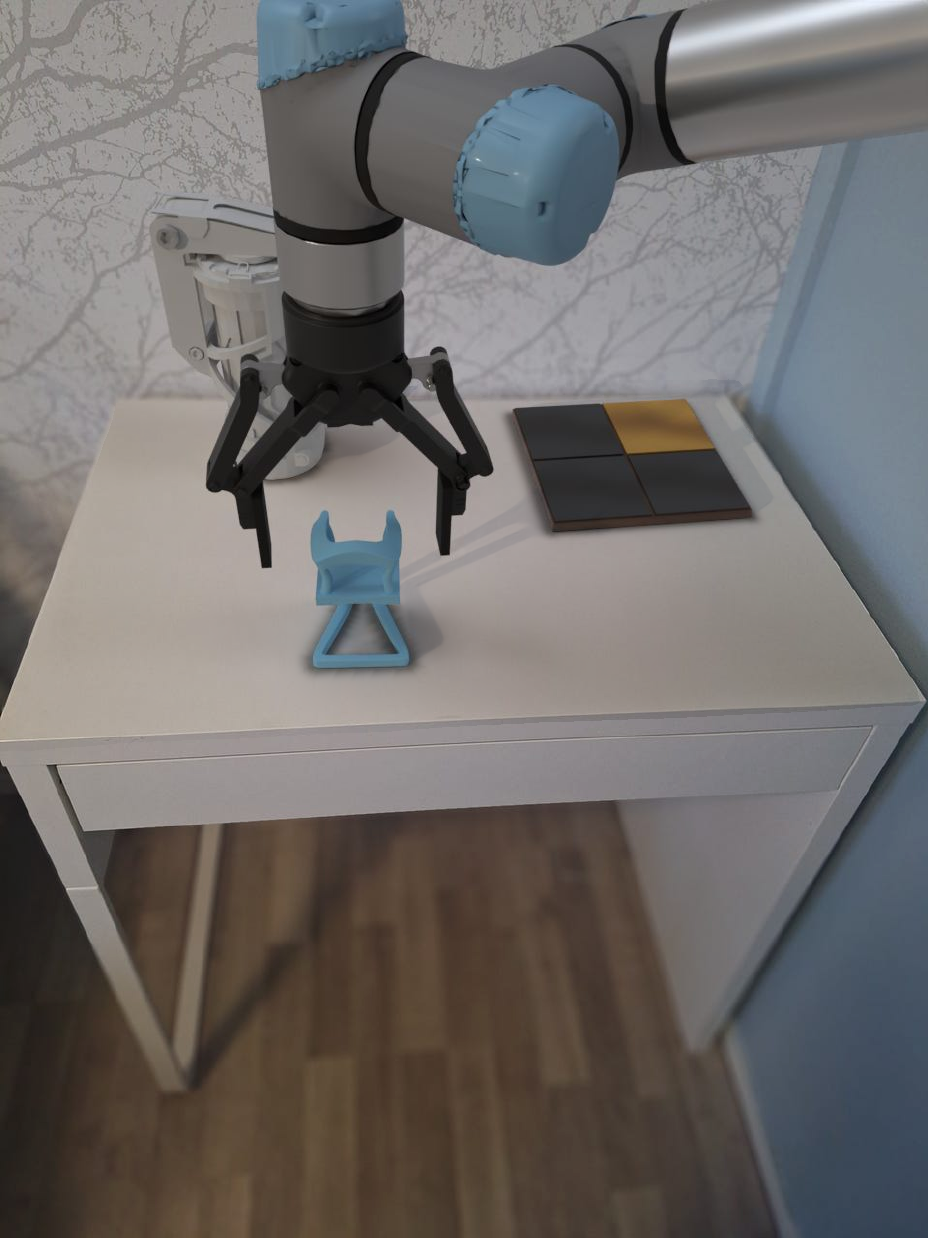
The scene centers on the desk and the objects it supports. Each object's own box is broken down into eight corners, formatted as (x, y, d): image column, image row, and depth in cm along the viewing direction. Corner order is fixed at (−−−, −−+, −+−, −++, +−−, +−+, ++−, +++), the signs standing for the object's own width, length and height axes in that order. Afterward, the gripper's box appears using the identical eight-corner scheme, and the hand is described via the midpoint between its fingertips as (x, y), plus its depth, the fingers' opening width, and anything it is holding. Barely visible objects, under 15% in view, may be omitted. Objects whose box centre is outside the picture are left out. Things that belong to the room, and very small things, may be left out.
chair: (407, 596, 81) (406, 486, 72) (409, 666, 75) (408, 556, 66) (318, 597, 80) (307, 486, 72) (313, 668, 74) (300, 557, 66)
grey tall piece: (332, 425, 99) (314, 183, 81) (320, 484, 91) (297, 232, 74) (211, 420, 99) (166, 177, 81) (189, 479, 91) (135, 225, 74)
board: (749, 517, 90) (753, 508, 90) (552, 531, 88) (553, 522, 87) (684, 406, 104) (686, 397, 103) (511, 416, 102) (512, 406, 101)
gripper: (529, 256, 60) (504, 509, 76) (136, 265, 57) (192, 529, 72) (555, 311, 55) (522, 571, 70) (124, 325, 52) (187, 595, 67)
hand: (355, 550), depth 71 cm, fingers open, 13 cm apart
